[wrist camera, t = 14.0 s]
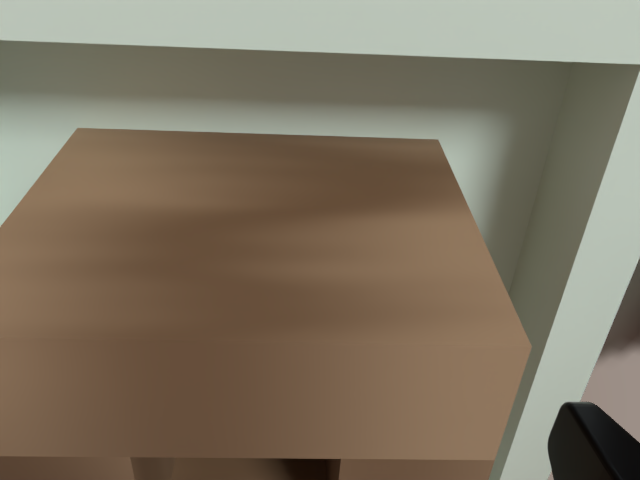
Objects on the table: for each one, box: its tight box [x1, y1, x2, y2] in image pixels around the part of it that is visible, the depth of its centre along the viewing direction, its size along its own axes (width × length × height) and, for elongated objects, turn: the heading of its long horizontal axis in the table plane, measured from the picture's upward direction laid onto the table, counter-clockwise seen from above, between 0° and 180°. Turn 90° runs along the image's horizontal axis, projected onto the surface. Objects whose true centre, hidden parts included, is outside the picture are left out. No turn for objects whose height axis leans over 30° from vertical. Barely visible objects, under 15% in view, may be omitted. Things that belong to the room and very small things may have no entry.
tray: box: [0, 0, 640, 480], centre depth 11 cm, size 12×12×2 cm
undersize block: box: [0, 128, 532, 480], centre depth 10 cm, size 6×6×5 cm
